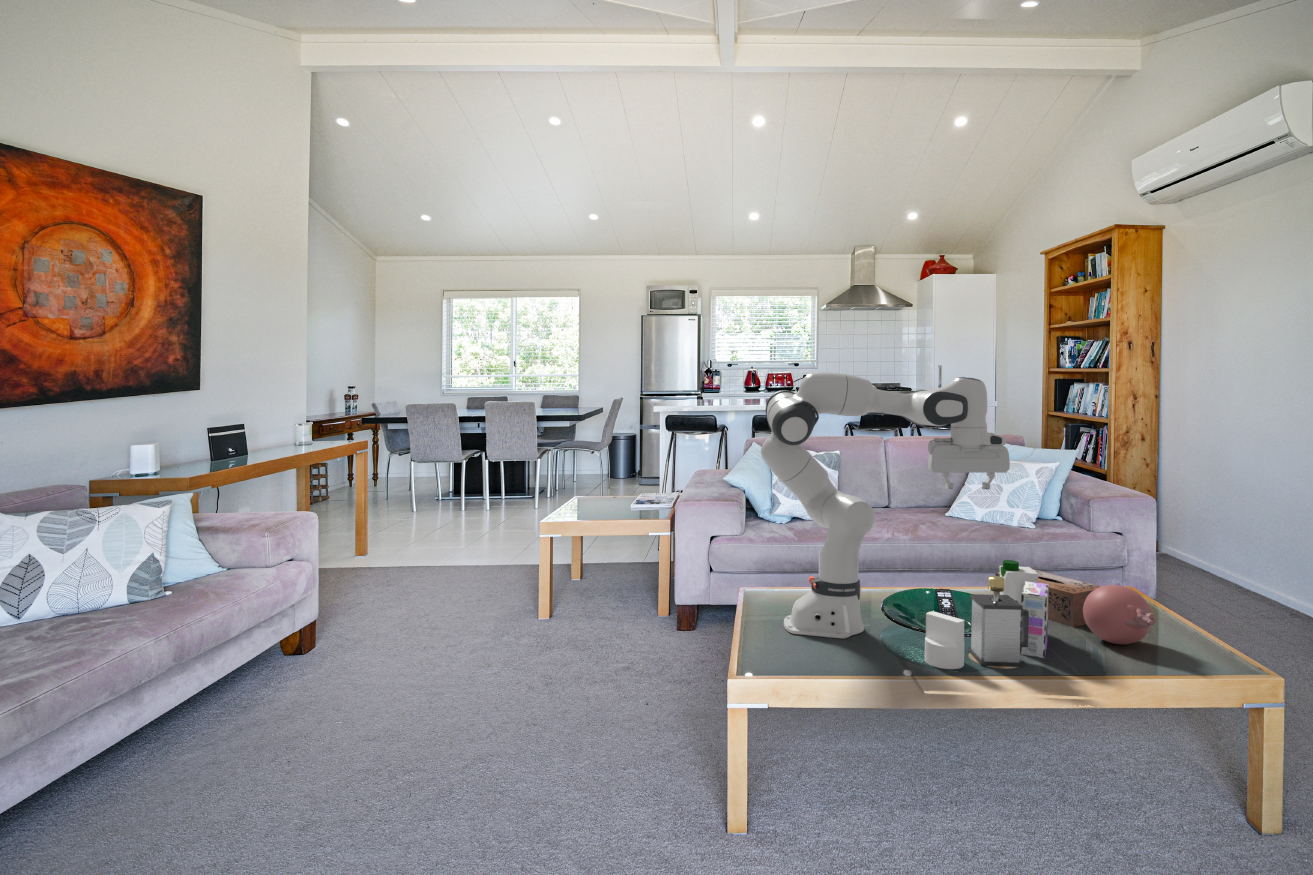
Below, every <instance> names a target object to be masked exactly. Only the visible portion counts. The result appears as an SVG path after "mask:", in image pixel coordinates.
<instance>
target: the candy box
mask: <svg viewBox="0 0 1313 875" xmlns="http://www.w3.org/2000/svg"><path fill="white" fill-rule="evenodd" d="M1021 605H1022V606H1023V609H1025V610H1027V611H1029V629H1028V647H1020V655H1022V656H1023V655H1024V656H1028V657H1029V656H1030V657H1035V658H1041V659H1046V654H1047V646H1048V629H1049V628H1048V627H1049V620H1048V584H1044V583H1036V582H1027V581H1025V584H1024V587H1023V591H1022V595H1021ZM1021 628H1022V615H1021V627H1020V641H1021Z"/></svg>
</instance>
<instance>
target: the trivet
mask: <svg viewBox="0 0 1313 875" xmlns="http://www.w3.org/2000/svg"><path fill="white" fill-rule="evenodd" d="M968 659H970V661H972V662H974V663H976V664H979V663H978V661H977V660H976V659H975V658H974V657H973V656H972V655H971V654H970V653H969V652H968ZM1020 661H1021V662H1022V660H1021V659H1020ZM979 665H980V664H979ZM987 667H989V668H994V669H1003V670H1004V669H1006V670H1009V669H1017V668H1018V667H1004V666H987Z"/></svg>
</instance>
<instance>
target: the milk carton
mask: <svg viewBox="0 0 1313 875" xmlns="http://www.w3.org/2000/svg"><path fill="white" fill-rule="evenodd" d="M1034 570H1035V569H1034ZM1034 570H1033V568H1031V567H1030V566H1020V562H1019V561H1016V560H1011V559H1010V560H1009V559H1004V560H1003V561H1002V565H999V572H1000V577H1003V578H1004V579H1005V580H1004V591H1003V592H1000V595H1008V596H1010V597H1011V598H1013V599H1014V600H1015V601H1017V602H1018V603H1019V604H1021V595H1022V591H1023V587H1024V584H1025V581H1027V582H1036V583H1038V573H1037V572H1035V571H1034ZM1020 627H1021V620H1020Z"/></svg>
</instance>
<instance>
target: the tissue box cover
mask: <svg viewBox="0 0 1313 875" xmlns="http://www.w3.org/2000/svg"><path fill="white" fill-rule="evenodd" d="M1032 569H1033V568H1032ZM1033 570H1034V571H1035V572H1037V573H1038V583H1044V584H1048V621H1053V622H1055V623H1058V624H1062V625H1065V626H1068V627H1070V628H1074V627H1079V626H1084V625H1087V624H1086V622H1085V619H1084V616H1083V605H1084V602H1085V600H1086V598H1087V596H1088V595H1089V594H1090V593H1091V592H1092V591H1094V590H1095V589H1097V588H1099V587H1102V585H1097V584H1095V583H1090V582H1086V581H1082V580H1078V579H1074V578H1070V577H1065V576H1062V575H1058V574H1055V573H1049V572H1045V571H1042V570H1037V569H1033ZM995 576H999V577H1000V571H998V572H995ZM998 595H1000V592H998Z"/></svg>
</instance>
